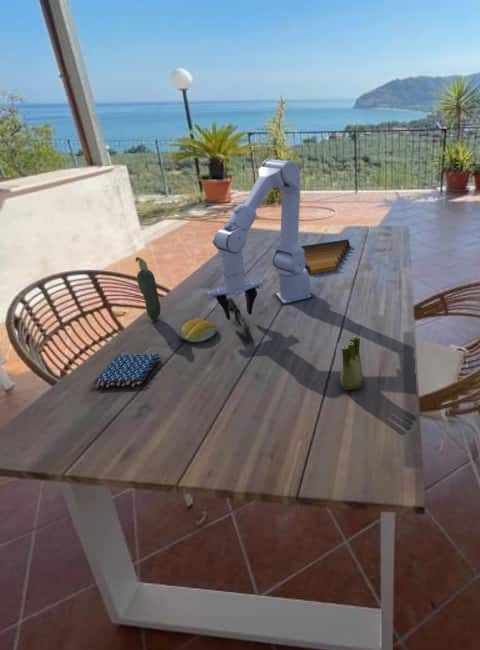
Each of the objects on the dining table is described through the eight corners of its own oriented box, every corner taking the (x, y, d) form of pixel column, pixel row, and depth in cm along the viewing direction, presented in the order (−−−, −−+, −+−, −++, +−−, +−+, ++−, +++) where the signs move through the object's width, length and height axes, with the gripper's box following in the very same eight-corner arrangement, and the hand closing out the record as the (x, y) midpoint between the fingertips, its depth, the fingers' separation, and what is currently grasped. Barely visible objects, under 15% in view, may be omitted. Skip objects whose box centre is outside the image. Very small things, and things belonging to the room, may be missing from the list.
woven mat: (117, 360, 96) (115, 353, 95) (161, 358, 96) (160, 351, 95) (93, 388, 86) (90, 381, 85) (142, 386, 86) (140, 379, 86)
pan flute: (346, 245, 175) (292, 253, 165) (346, 238, 173) (291, 246, 163) (371, 264, 153) (310, 275, 144) (371, 256, 152) (310, 266, 142)
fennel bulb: (344, 396, 84) (344, 349, 79) (335, 383, 88) (333, 337, 83) (368, 387, 86) (368, 341, 82) (357, 375, 90) (357, 330, 86)
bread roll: (201, 323, 112) (199, 311, 110) (221, 332, 107) (219, 320, 106) (174, 336, 105) (172, 323, 104) (195, 347, 101) (192, 333, 99)
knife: (254, 350, 103) (253, 335, 101) (248, 352, 103) (247, 337, 100) (233, 305, 121) (231, 292, 119) (228, 306, 120) (226, 293, 118)
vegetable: (166, 318, 114) (153, 255, 107) (155, 326, 110) (140, 261, 103) (155, 316, 115) (141, 253, 108) (143, 323, 112) (128, 259, 104)
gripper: (208, 282, 99) (215, 328, 104) (264, 271, 106) (268, 315, 111) (203, 273, 105) (210, 317, 109) (256, 263, 111) (260, 304, 116)
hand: (239, 315), depth 110 cm, fingers open, 5 cm apart
